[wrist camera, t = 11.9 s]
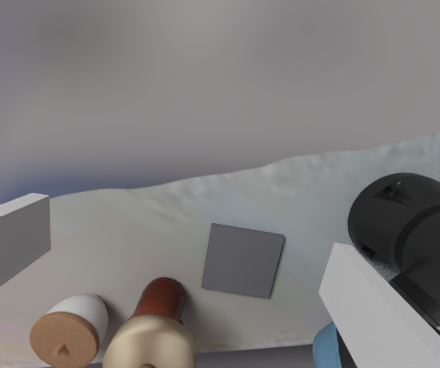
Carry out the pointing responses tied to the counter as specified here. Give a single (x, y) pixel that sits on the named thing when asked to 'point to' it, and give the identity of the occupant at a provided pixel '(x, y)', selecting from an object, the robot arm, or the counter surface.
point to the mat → (241, 260)
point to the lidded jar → (71, 331)
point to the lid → (151, 344)
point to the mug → (161, 299)
